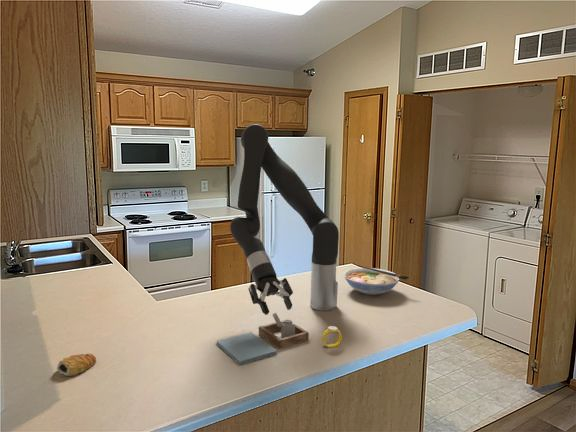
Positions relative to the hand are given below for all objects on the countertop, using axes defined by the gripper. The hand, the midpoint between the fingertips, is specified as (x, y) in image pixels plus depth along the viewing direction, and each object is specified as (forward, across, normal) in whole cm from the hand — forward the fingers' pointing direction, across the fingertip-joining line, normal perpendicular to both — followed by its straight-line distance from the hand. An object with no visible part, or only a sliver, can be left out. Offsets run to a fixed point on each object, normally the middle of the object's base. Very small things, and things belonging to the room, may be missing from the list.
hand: (278, 311), depth 139 cm
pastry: (-1, -58, +13) cm, 59 cm away
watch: (+16, +9, -6) cm, 20 cm away
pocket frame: (+7, 0, +4) cm, 8 cm away
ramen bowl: (-4, +54, +15) cm, 56 cm away
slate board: (+8, -14, +3) cm, 16 cm away
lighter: (+7, 0, +4) cm, 8 cm away
